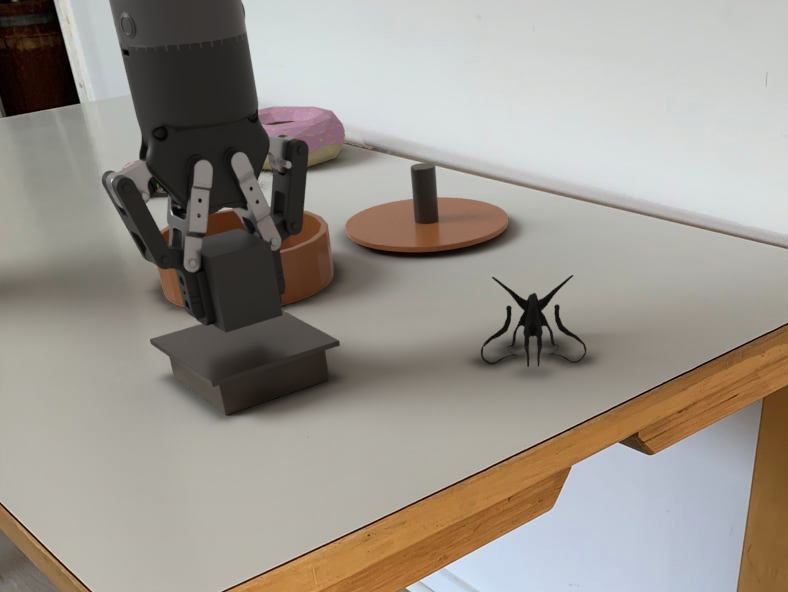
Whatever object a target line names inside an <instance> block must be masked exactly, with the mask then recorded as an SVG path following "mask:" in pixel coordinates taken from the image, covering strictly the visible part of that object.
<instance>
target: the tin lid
mask: <svg viewBox="0 0 788 592" xmlns="http://www.w3.org/2000/svg"><path fill="white" fill-rule="evenodd" d="M410 179H411V190H412V191H411V192H412V198H408V199H407V198H406V199H400V200H395V201H389V202H387V203H386V202H385V203H382V204H378V205H374V206H370V207H368V208H366V209H363V210H360V211H359V212H357V213H355V214H353V215H352V216H351V217H350V218H348V220H347V221H346V223H345V227H344V230H345V235H346V236H347V237H348V239H350V241H352V242H354V243H356V244H358V245H361V246H363V247H366V248H371V249H374V250H380V251H386V252H387V251H388V252H398V253H409V254H411V253H413V254H415V253H416V254H418V253H422V254H424V253H438V252H447V251H451V250H457V249H461V248H466V247H471V246H474V245H478V244H480V243H484V242H486V241H489V240H491V239H493V238H496V237H497V236H499V235H501V234H502V233H503V232H504V231H506V229H507V227H508V225H509V215H508V213H507V212H506V211H505V210H504V209H503V208H501V207H500V206H498V205H495V204H493V203H489V202H486V201H482V200H477V199H471V198H462V197H446V196H445V197H443V196H442V197H439V196H438V186H437V185H438V184H437V171H436V165H435V164H434V163H431V162H430V163H429V162H421V163H420V162H419V163H415V164H412V165H411V166H410Z"/></svg>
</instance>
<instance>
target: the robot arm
mask: <svg viewBox="0 0 788 592" xmlns="http://www.w3.org/2000/svg"><path fill="white" fill-rule="evenodd" d="M108 3H109V7H110V12H111V15H112V20H113V24H114V28H115V32H116V36H117V41H118V44H119V50H120V54H121V57H122V62H123V66H124V70H125V71H124V72H125V74H126V79H127V83H128V88H129V92H130V95H131V101H132V104H133V108H134V112H135V117H136V120H137V124H138V127H139V130H140V135H141V138H140V139H141V140H140V148H139V152H138V161H137V160H135V161H136V162H135V163H133V164H131V165H129V166H128V167H126V168H124V169H123V168H122V169H120V170H119V171H114V170H107V171H105V172H104V173H103V174H102V176H101V184H102V186H103V188H104V190H105V191H106V193H107V195H108V197H109V199H110V201H111V203H112V204H113V206H114V208H115V210H116V212H117V214H118V215H119V218H120V219H121V221H122V223H123V224H124V226H125V228H126V229H127V231H128V233H129V235H130V237H131V238H132V240H133V242H134V244H135V246H136V248H137V250H138V252H139V254H140V255H141V257H142V258H143V260H145V261H147V262H149V263H152V264H154V265H155V266H156V267H157V266H158V267H159V268H161V269H165V270H166V269H169V268H172V269H175V271H176V275H177V279H178V283H179V288H180V292H181V296H182V299H183V305H184V308H183V309H184V310H185V311H186V313H187V314H188V315H189V316H191V317H192V318H195V320H196V321H197V322H199V323H200V324H204V325H205V326H208V325H211V324H215V323H216V318H215V313H214V309H213V304H212V299H211V295H210V290H209V285H208V281H207V276H206V272H205V270H203V269H201V268H200V267H201V259H202V244H203V237H204V236H205V235H206V233H207V223H208V215H210V214H214V213H216V212H217V211H222V209H233V210H234V212H235V213H236V214H237V215H238V216H239V218H240V220H241V222H242V224H243V226H244V228H245V230H246V232H248V233H250V234H252V235H255V236H257V237H259V238H261V239H263V240H266V241H268V242H270V244H271V250H272V255H273V261H274V267H275V273H276V279H277V285H278V290H279V296H280V302H281V295H282V294H284V293H285V287H286V285H285V279H284V273H283V267H282V261H281V255H280V246H281V244H282V242H283V241H284V240H285V239H287V238H288V237H289V236H291V235H297V234H299V233H300V232H301V230H302V225H303V213H304V211H305V200H306V187H307V177H308V167H307V165H308V153H309V148H308V145H307V143H306V142H305V141H303V140H300V139H297V138H293V137H290V136H287V135H283V134H282V135H279V136H278V137H274V136H268V134H267V132H266V130H265V129H264V127H263V126H262V124H261V122H260V120H259V116H258V110H259V97H258V92H257V85H256V80H255V74H254V68H253V67H254V66H253V61H252V54H251V50H250V49H251V48H250V43H249V37H248V30H247V26H246V9H245V6H244V3H243V0H108ZM267 155H268V160H269V165H270V167H271V168H272V169H273V170H272V180H271V182H272V183H271V197H270V206H269V203H268V201H267V199H266V197H265V195H264V192H263V191H262V188H261V186H260V184H259V182H258V181H259V178H260V175H261V173H262V170H263V169H262V168H263V165H264V163H265V160H266V157H267ZM150 178H152V179H153V180H154V181H155V182H156V183H157V184H158V185H159V186H160V187H161V188H162V189H163V190H164V191H165V192H166V193H165V194H167V205H166V206H167V207H166V208H167V210H166V222H167V226H169V229H170V231H169V245H167V243H166V241H165V239H164V238H163V236H162V234H161V232H160V231H161V229H160V228H159V226H158V224H157V222H156V220H155V219H154V217H153V215H152V213H151V211H150V209H149V207H148V205H147V204H148V202H150V199H151V197H150V192H149V189H148V182H149V180H150ZM270 207H271V209H270Z"/></svg>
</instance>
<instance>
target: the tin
mask: <svg viewBox="0 0 788 592" xmlns="http://www.w3.org/2000/svg"><path fill="white" fill-rule="evenodd" d="M269 207H270V209H271V206H269ZM235 229H241V230H243V231H246V230H245V228H244V226H243V224H242V222H241V220H240V218H239V216H238V215H237V214H236V213H235V212H234V210H233V209H232V208H229V209H223V210H219V211H217V212H216V213H214V214H210V215H208V223H207V233H206V235H205V236H204V237H207V236H211V235H215V234H219V233H223V232H227V231H231V230H235ZM169 231H170V229H169V225H167V226H166V227H164V228H162V229H160V232H161V234H162V236H163V238H164V239H165V241H166V243H167V245H169ZM280 255H281V261H282V267H283V273H284V279H285V285H286V287H285V293H284V294H282V295H281V307H283V306H286V305H290V304H294V303H296V302H300V301H302V300H303V301H304V300H305V299H308V298H310V297H312V296H314V295H316V294H318V293H319V292H321V291H323V290H324V289H326V287H328V286H329V285H330V284H331V282H332V281H333V279H334V271H335V270H334V268H335V267H334V259H333V253H332V246H331V236H330V230H329V223H328V222H327V221H326V220H325V219H324V218H323V216H321V215H320V214H317V213H314V212H311V211H309V210H304V213H303V225H302V230H301V232H300V233H299V234H297V235H291V236H289V237H288V238H287V239H285V240H284V241H283V242H282V244H281V246H280ZM156 270H157V272H158V277H159V281H160V285H161V288H162V292H163V295H164V297H165V298H166V300H167V301H168V302H170V303H171V304H172V305H175V306H176V307H180V308H183V309H185V308H184V305H183V299H182V296H181V292H180V288H179V283H178V279H177V275H176V271H175V269H172V268H169V269H166V270H165V269H161V268H159V267H158V266H156Z"/></svg>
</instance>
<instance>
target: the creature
mask: <svg viewBox="0 0 788 592" xmlns="http://www.w3.org/2000/svg"><path fill="white" fill-rule="evenodd" d="M572 278H574V274H571V275H570V276H569V277H567V278H566V279H564V281H562V282H561V283H559V285H556V287H555V288H553V289H552V290H551V291H549V293H548V294H546V295H545V296H544V297H542V298H540V299H539V298H538V294H537V293H536V292H533V293H531V294H529V295H528V297H527V298H526V299H525V298H523V297H521V296H520V295H518V294H517V293H516V292H515V291H514V290H512V289H510V287H508V286H507V285H505V284H504V283H503V282H501V281H500V280H499V279H497V278H496V277H494V276H492V277H491V279H492V280H494V281H495V282H496V283H497V284H498V285H500V287H502V288H503V289H504V290H505V291H506V292H508V294H509V295H510V296H511V297H512V298H513V300H514V301H515V302H516V304H517V305H518V306H519V307H520V309H521V310H523V312H522V314H521V316H520V317H519V319H518V323H517V325H516V327H515V329H514V330H513V332H512V340H511V344H509V345H507V347H506V348H507V349H508V351H509V353H511V354H508V355H506V356H503V357H501V358H499V359H498V360H495V361H491V362H490V361H489V360H487V359H486V358H485V357H484V347H486V346H487V345H488V344H490V342H492V341H493V340H495V339H497V338H499V337H501V336H502V335H505V333H507V331H508V330H509V327H510V325H511V322H512V315H513V313H512V310H513V309H512V308H513V307H512V306H511V305H506V306H505V307H506V309H505V310H506V319H505V321H504V324H503V326H502V327H501V328H499V330H498V331H497V332H495V333H494V334H492V335H491V336H490V337H489V338H487V339H486V340H485V341H484V343H483V345H482V346H481V348H480V357H481V359H482V360H483V362H485V363H486V364H489V365H494V364H497V363H499V362H501V361H503V360H504V359H505V358H509V357H513V356H519V354H518V353H513V352H511V351H510V349H509V348H510V347H511V348H513V347H514V346H515V344H516V339H517V332H518V330H519V328H520V327H523V332H522V335H523V337H524V340H523V346H524V347H523V348H524V349H523V350H524V351H525V354H526V366H527V368H529V367H530V338H531V337H532V338H534V337H535V338H536V345H537V361H536V362H537V367H538V368H539V367H540V359H541V358H540V357H541V352H542V349H543V333H544V331H543V327H546V328H547V330H548V332H549V338H550V343H551V345H552V346H553V347H555V346H557V348H556V350H555V351H553V352H550V353H549V355H553V356H558V357H561V358H563V359H564V360H566V361H569V362H570V363H579V362H581V361H582V360H583V359H584V358H585V356H586V354H587V345H586V343H585V342H584V341H583V340H582V339H581V338H580V337H579V336H578V335H577V334H575V333H574V332H572V331H570V330H569V329H568V328H567V327H566V326H564V325H563V322H562V319H561V318H560V309H561V307H560V304H557V303H556V304H555V305H554V308H553V309H554V313H553V314H554V321H555V325H556V326H557V329H558V330H559V331H560V332H561V333H563V335H566V336H568V337H571V338H573V339H574V340H576V341H577V342H579V343H580V344H582V346H583V351H584V353H583V355H582V356H581V358H580V359H578V360H571V359H569V358H567V357H566V356H563V355H562V354H561V355H560V354H558V353H557V354H556V353H555V352H557V351H558V350H559V347H560V345H559V344H557V343H555V338H554V332H553V330H552V328H551V326H550V325H549V322H548V319H547V317H546V315H545V314H544V313H543V312H542V311H543V310H544V309H546V307H547V306H548V305H549V303H550V302H551V300H552V299H553V297H554V296H555V295H556V294H557V293H558V291H560V289H562V288H563V287H564V286H565V285H566V284H567V283H568V282H569V281H570V280H571V279H572Z"/></svg>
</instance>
